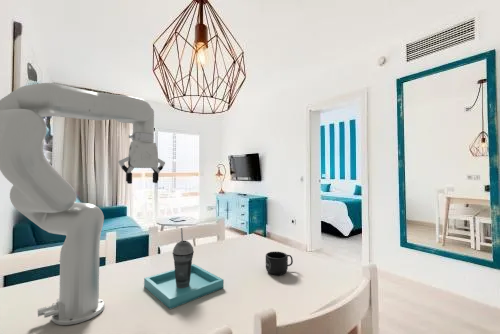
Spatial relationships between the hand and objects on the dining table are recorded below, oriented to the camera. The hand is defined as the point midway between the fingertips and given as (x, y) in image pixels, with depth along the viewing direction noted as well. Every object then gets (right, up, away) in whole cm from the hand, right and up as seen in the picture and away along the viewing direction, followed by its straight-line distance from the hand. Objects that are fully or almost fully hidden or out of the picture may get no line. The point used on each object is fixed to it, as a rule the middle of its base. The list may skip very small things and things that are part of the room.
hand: (142, 183), depth 98 cm
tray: (+18, -36, -8) cm, 41 cm away
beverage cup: (+18, -36, -8) cm, 41 cm away
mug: (+54, -37, +7) cm, 66 cm away
